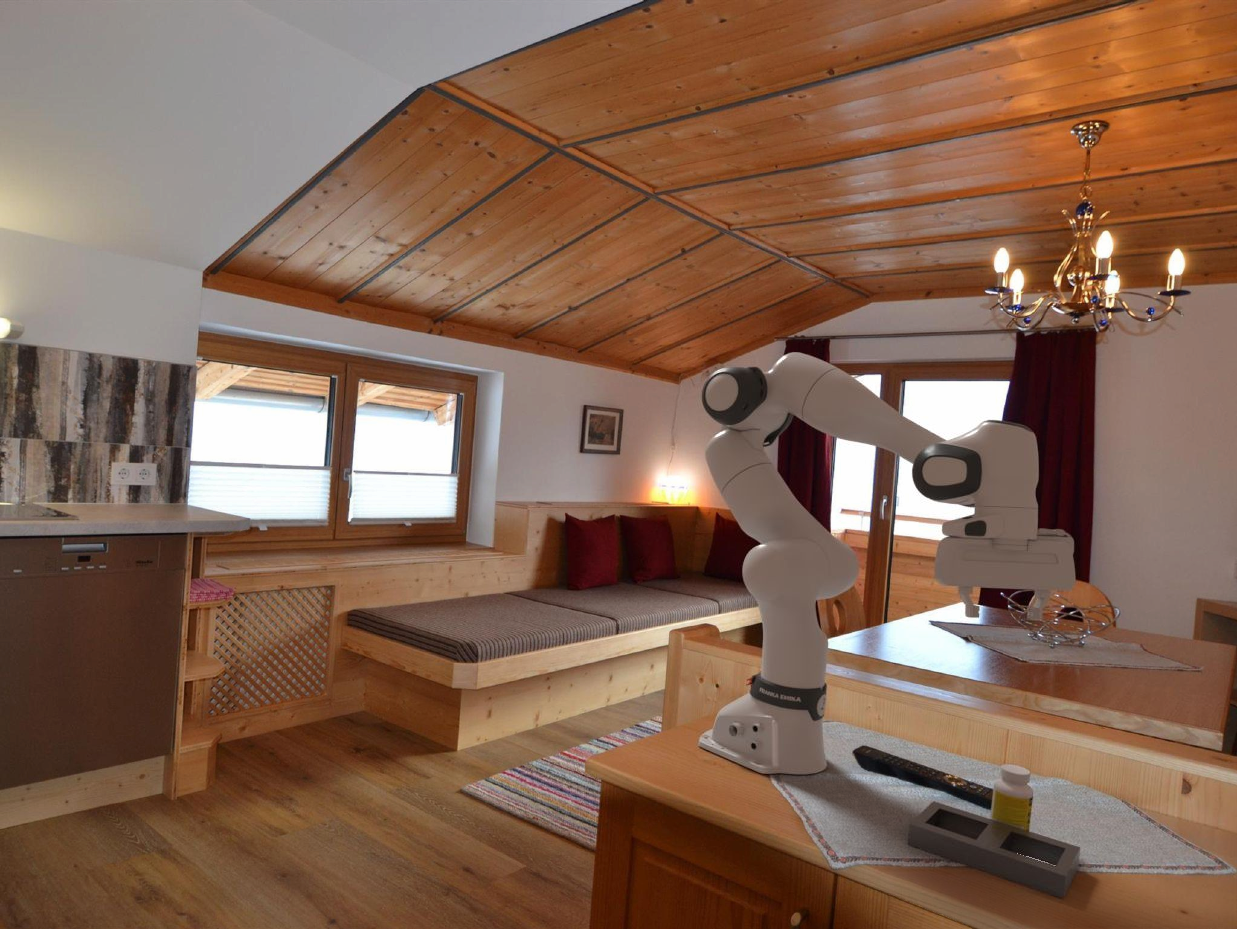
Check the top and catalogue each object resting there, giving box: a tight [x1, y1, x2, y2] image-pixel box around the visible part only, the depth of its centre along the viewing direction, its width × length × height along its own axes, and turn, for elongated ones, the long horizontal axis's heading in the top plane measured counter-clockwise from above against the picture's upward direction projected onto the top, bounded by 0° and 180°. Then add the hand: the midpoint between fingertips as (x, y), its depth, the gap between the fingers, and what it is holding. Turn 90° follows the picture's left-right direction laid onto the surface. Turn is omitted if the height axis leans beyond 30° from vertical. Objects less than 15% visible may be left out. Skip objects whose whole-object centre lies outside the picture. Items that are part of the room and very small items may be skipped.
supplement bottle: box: [989, 763, 1034, 831], centre depth 130 cm, size 5×5×10 cm
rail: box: [907, 800, 1081, 900], centre depth 122 cm, size 20×11×3 cm, turn 54°
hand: (1003, 618), depth 132 cm, fingers open, 8 cm apart
